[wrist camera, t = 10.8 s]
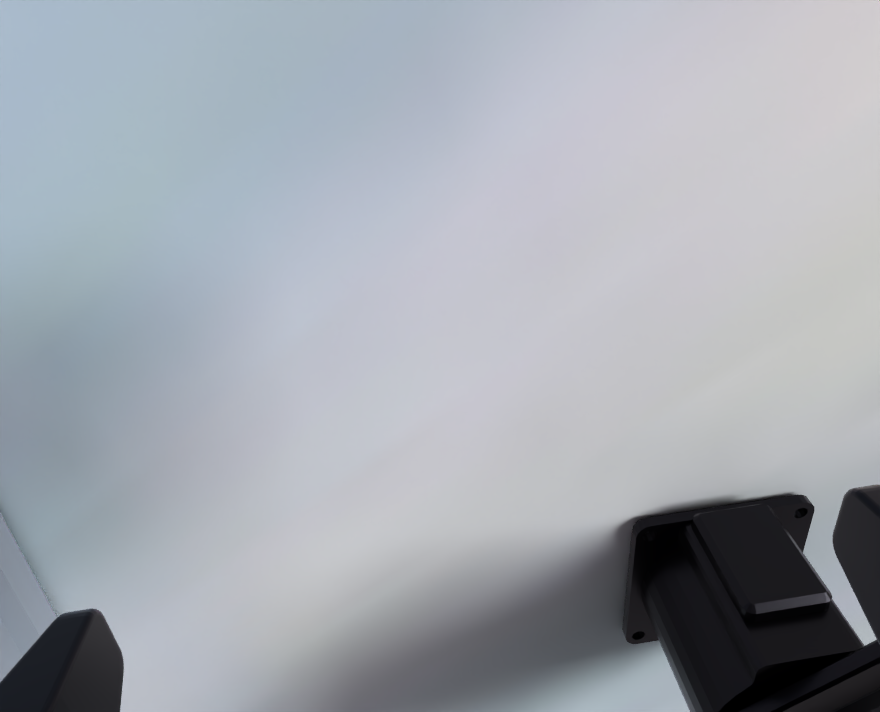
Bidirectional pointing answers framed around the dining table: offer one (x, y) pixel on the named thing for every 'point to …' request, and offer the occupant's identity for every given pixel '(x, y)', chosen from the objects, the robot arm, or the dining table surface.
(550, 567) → the dining table surface
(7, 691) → the robot arm
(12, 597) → the display stand
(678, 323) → the dining table surface
